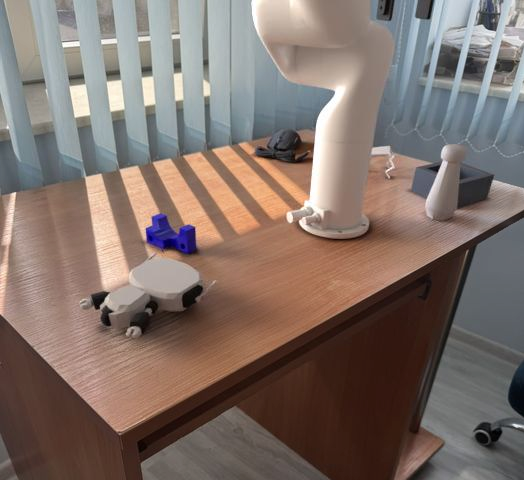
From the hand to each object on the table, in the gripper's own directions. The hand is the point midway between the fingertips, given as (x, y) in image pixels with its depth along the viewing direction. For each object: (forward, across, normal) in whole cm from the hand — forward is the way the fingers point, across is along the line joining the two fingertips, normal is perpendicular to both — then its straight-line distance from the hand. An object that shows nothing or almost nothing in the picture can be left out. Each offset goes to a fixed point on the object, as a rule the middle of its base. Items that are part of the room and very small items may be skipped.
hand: (403, 19), depth 92 cm
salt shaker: (+31, 0, +17) cm, 35 cm away
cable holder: (+31, +49, +3) cm, 58 cm away
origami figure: (+31, -8, -7) cm, 32 cm away
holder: (+30, -11, +10) cm, 34 cm away
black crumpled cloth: (+31, +1, -29) cm, 42 cm away
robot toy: (+31, +60, +19) cm, 70 cm away
